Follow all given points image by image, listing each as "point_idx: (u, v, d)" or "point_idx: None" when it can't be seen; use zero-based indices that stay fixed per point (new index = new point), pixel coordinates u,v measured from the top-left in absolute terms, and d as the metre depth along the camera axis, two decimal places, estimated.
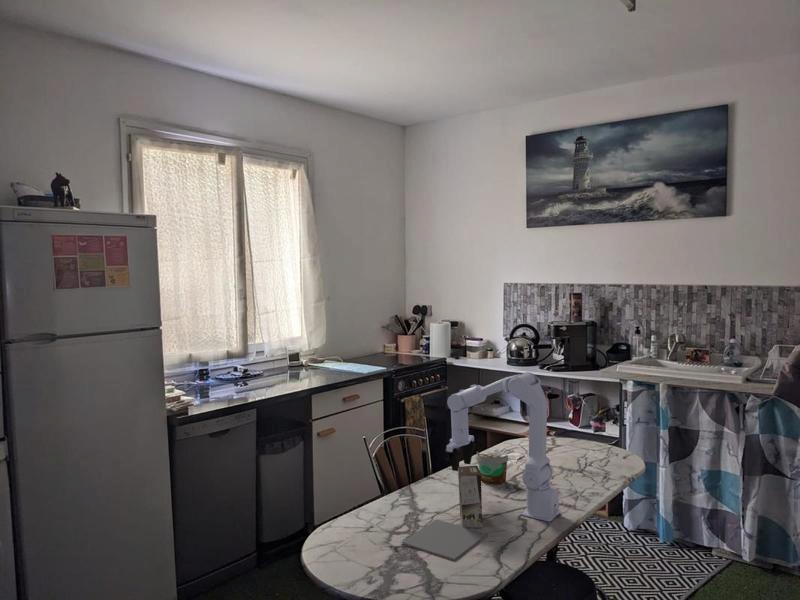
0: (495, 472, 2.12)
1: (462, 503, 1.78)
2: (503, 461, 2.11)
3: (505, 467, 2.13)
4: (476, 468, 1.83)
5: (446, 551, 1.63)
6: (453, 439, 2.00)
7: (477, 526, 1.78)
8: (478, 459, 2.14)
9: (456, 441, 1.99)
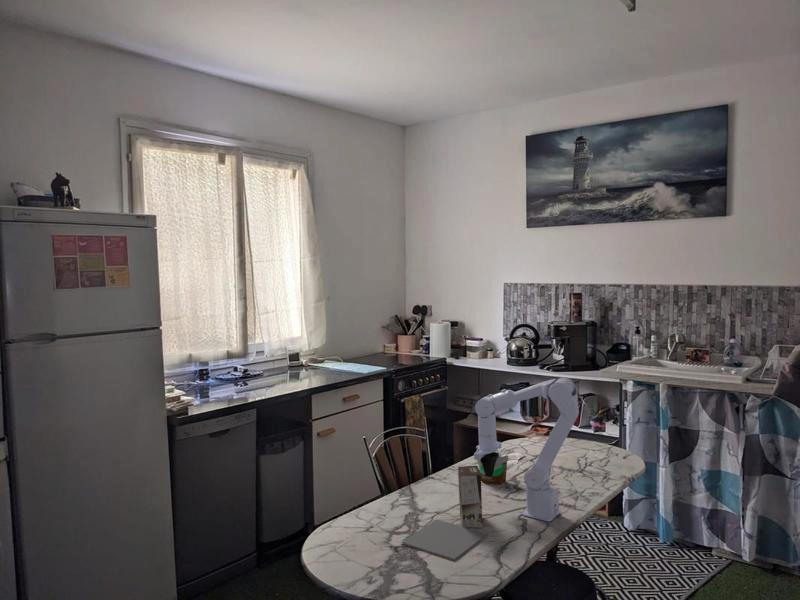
0: (495, 472, 2.12)
1: (462, 503, 1.78)
2: (503, 461, 2.11)
3: (505, 467, 2.13)
4: (476, 468, 1.83)
5: (446, 551, 1.63)
6: (480, 446, 1.91)
7: (477, 526, 1.78)
8: None
9: (484, 448, 1.90)
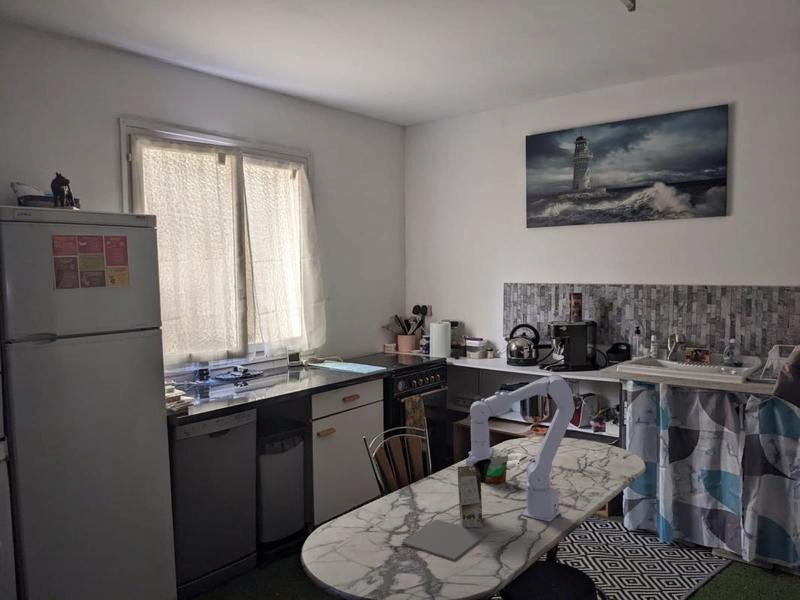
0: (495, 472, 2.12)
1: (462, 503, 1.77)
2: (503, 461, 2.11)
3: (505, 467, 2.13)
4: (475, 468, 1.83)
5: (446, 551, 1.63)
6: (473, 452, 1.86)
7: (477, 526, 1.78)
8: None
9: (476, 454, 1.85)
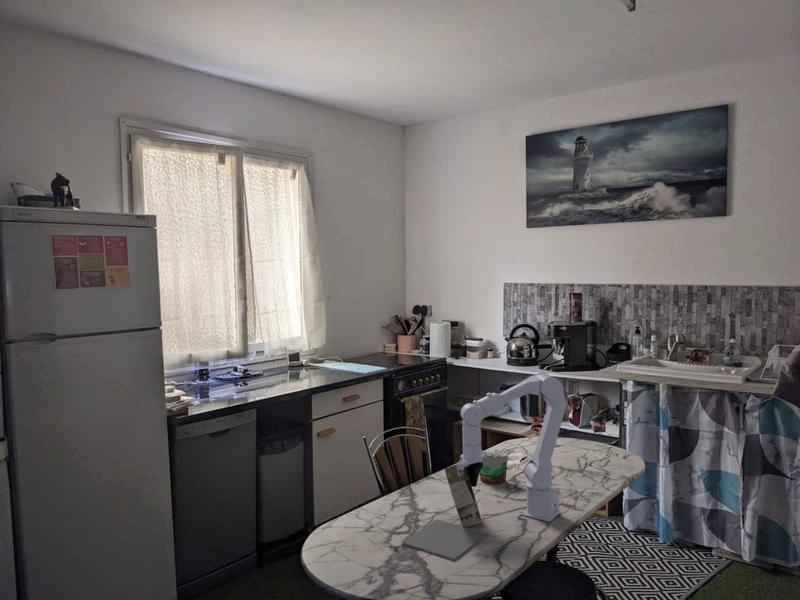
0: (495, 472, 2.12)
1: (457, 507, 1.76)
2: (503, 461, 2.11)
3: (505, 467, 2.13)
4: None
5: (446, 551, 1.63)
6: (464, 455, 1.82)
7: (476, 523, 1.78)
8: None
9: (467, 458, 1.81)
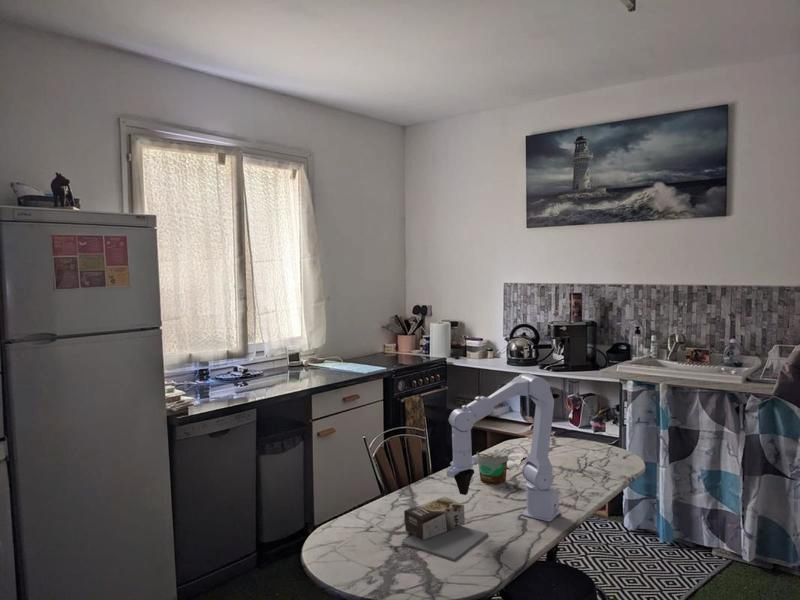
0: (495, 472, 2.12)
1: (445, 530, 1.74)
2: (503, 461, 2.11)
3: (505, 467, 2.13)
4: (409, 515, 1.74)
5: (446, 551, 1.63)
6: (454, 462, 1.77)
7: (463, 510, 1.78)
8: (478, 459, 2.14)
9: (458, 465, 1.76)
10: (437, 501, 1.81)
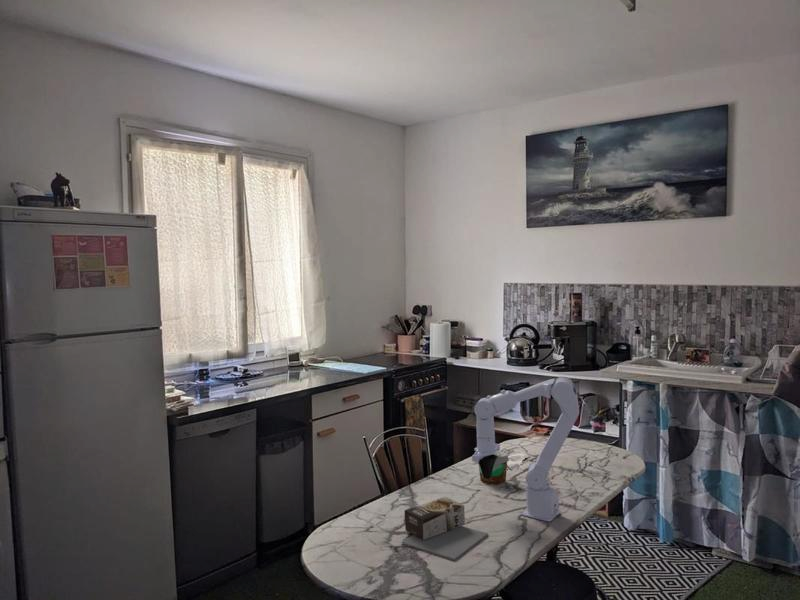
0: (495, 472, 2.12)
1: (445, 530, 1.74)
2: (503, 461, 2.11)
3: (505, 467, 2.13)
4: (410, 515, 1.74)
5: (446, 551, 1.63)
6: (479, 448, 1.88)
7: (463, 510, 1.78)
8: None
9: (482, 450, 1.87)
10: (437, 501, 1.81)
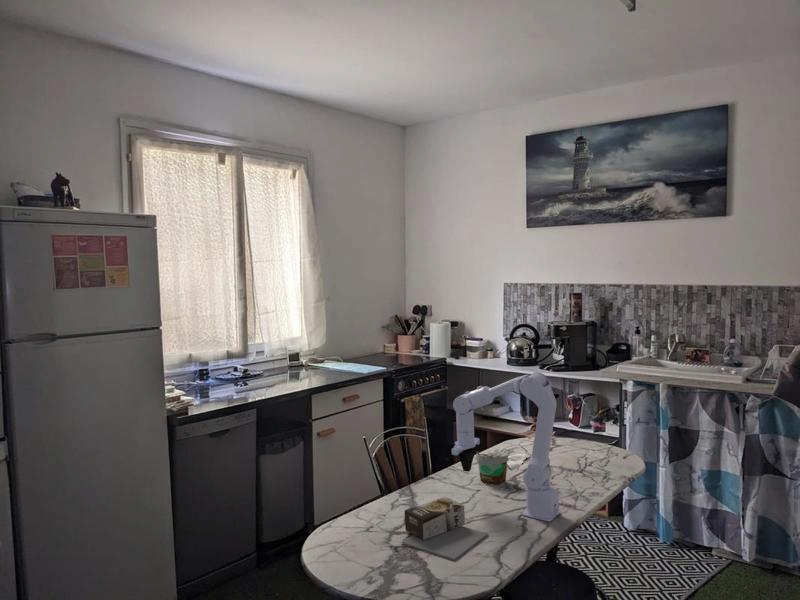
0: (495, 472, 2.12)
1: (445, 530, 1.74)
2: (503, 461, 2.11)
3: (505, 467, 2.13)
4: (410, 515, 1.74)
5: (446, 551, 1.63)
6: (458, 442, 1.96)
7: (463, 510, 1.78)
8: (478, 459, 2.14)
9: (461, 444, 1.95)
10: (437, 501, 1.81)
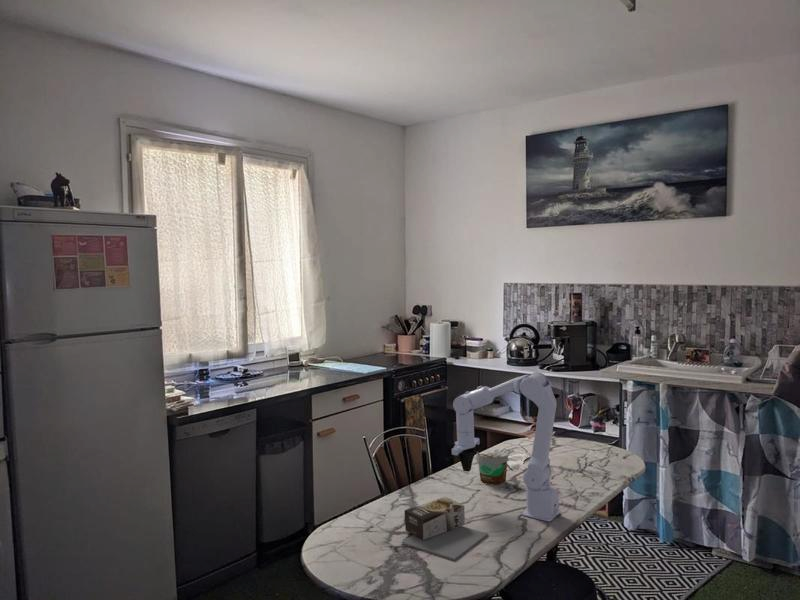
0: (495, 472, 2.12)
1: (445, 530, 1.74)
2: (503, 461, 2.11)
3: (505, 467, 2.13)
4: (410, 515, 1.74)
5: (446, 551, 1.63)
6: (458, 442, 1.96)
7: (463, 510, 1.78)
8: (478, 459, 2.14)
9: (461, 444, 1.95)
10: (437, 501, 1.81)
